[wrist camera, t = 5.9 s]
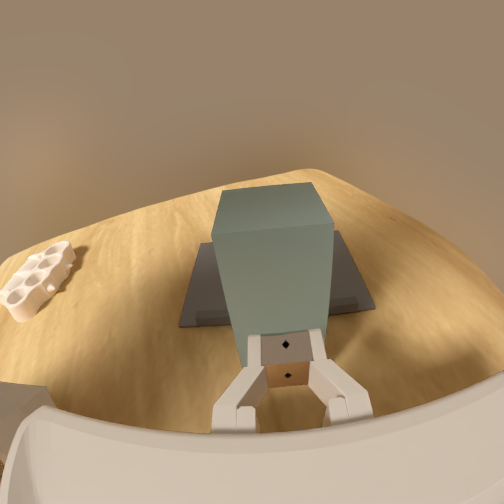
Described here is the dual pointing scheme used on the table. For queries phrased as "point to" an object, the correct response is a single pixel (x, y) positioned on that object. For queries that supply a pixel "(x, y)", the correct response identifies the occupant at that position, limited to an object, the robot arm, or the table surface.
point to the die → (18, 409)
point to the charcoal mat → (213, 299)
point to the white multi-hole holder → (37, 280)
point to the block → (274, 260)
